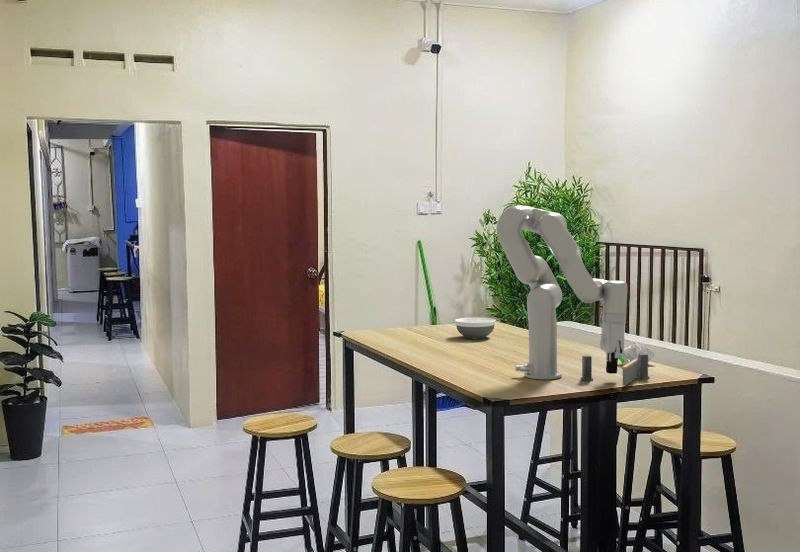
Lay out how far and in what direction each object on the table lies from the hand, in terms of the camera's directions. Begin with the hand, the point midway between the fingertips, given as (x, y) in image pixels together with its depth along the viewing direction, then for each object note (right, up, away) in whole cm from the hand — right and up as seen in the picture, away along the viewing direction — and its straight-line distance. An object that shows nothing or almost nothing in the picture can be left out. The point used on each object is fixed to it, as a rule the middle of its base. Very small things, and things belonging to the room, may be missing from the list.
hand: (611, 372), depth 264 cm
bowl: (-36, +4, +100) cm, 106 cm away
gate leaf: (+6, -2, -2) cm, 7 cm away
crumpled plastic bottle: (+15, -1, +27) cm, 31 cm away
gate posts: (+2, -2, +4) cm, 5 cm away
